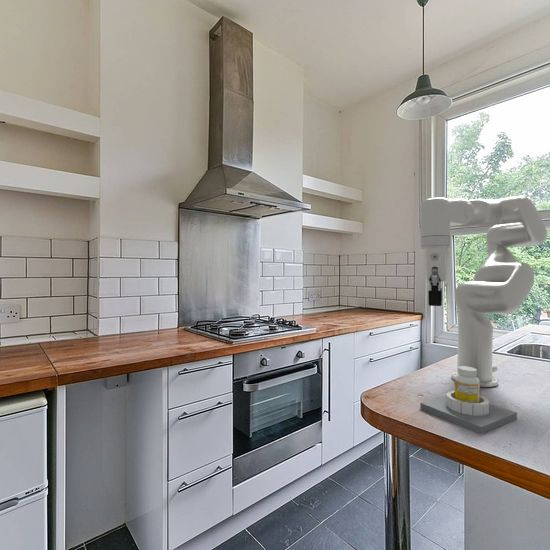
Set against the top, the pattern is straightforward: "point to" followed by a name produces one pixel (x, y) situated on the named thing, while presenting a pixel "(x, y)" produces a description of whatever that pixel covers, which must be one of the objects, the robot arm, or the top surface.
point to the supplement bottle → (467, 385)
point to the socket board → (469, 419)
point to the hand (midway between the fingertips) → (435, 303)
